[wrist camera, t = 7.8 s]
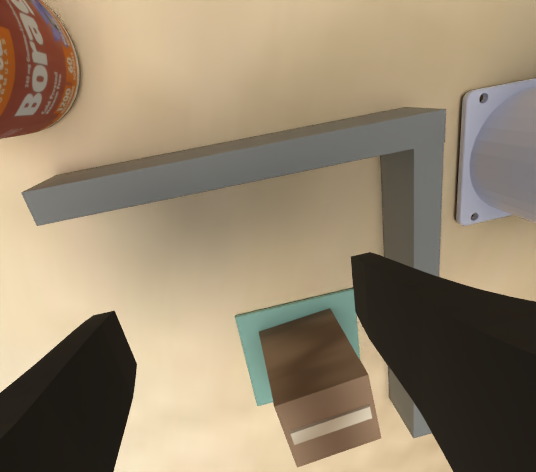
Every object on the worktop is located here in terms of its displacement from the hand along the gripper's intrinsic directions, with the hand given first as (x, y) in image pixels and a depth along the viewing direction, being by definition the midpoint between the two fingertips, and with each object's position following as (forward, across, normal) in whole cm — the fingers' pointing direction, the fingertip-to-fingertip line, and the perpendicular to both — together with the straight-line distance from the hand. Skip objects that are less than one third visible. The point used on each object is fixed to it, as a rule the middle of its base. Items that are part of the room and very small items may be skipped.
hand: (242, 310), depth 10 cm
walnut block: (+10, -3, +11) cm, 15 cm away
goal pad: (+10, -3, +11) cm, 15 cm away
